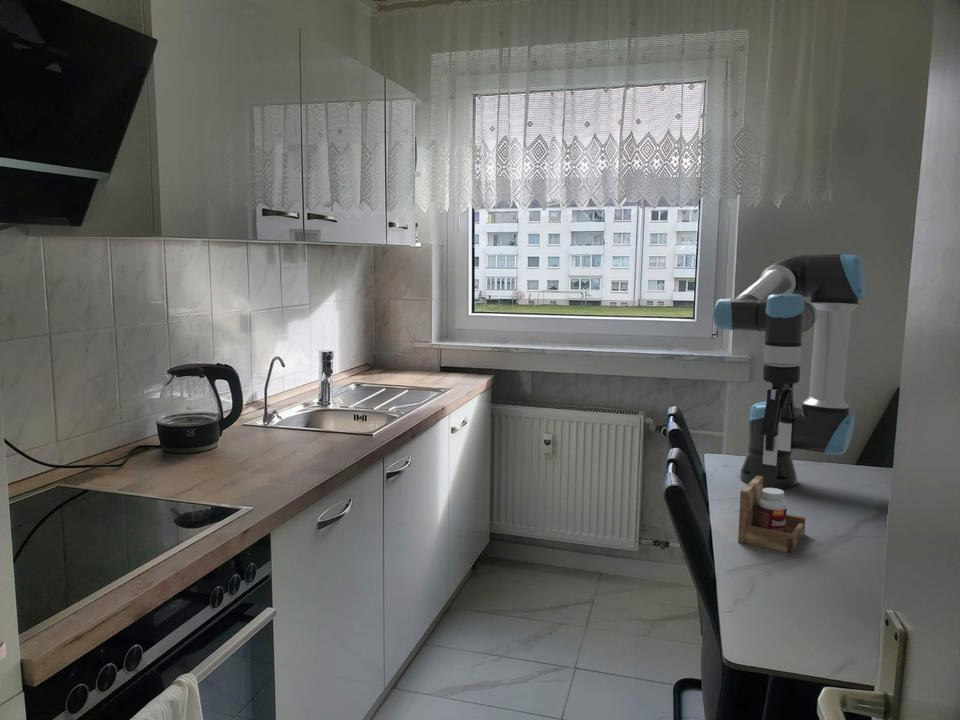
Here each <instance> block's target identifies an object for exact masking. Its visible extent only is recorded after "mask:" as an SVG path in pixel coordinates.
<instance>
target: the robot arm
mask: <svg viewBox="0 0 960 720" xmlns="http://www.w3.org/2000/svg"><path fill="white" fill-rule="evenodd" d="M866 274H867V273H866V268H865V264H864V261H863V259H862V257H860V255H855V254H844V253H842V254H840V253H839V254H798V255H794V256H790V257H786V258H784V259H781V260H778V261H776V262H774V263H773V264H771V265H769V266H768V267H766V268H765V269H764V270H763V271H762V273H761V274H760V276H759V279H757V280H756V281H755V282H754V283H753V284H751V285H750V286H749V287H747V288H746V289H745V290H744V291H743V292H741V293H740V294H739V295H737V296H736V297H735V298H730V297H729V298H720V299H718V300H717V301H716V303H715V305H714V308H713V322H714V325H715V327H716V328H717V329H720V330H727V331H741V332H742V331H743V332H763V333H764V347H763V348H762V349H761V352H762V353H764V354H763V361H764V363H765V364H764V365H763V370H762V371H763V372H762V380H763V381H765V382H767V383H770V384H772V386H771V389H769V388H768V389H767V391H766V393H767V394H766V396H767V397H766V400H765V401H760V402H756V403H754V404H753V405H752V406H751V407H750V410H749V411H750V414H749V418H748V421H749V422H748V423H749V424H748V445H747V446H748V447H747V454H746V456H745V459H744V460H743V461H744V462H743V464H742V466H741V469H740V476H739V479H740V480H741V481H742V482H744V483H746V484H748V483H749V482H750V481H752V480H753V479H754V478H755V477H756V476H762V477H763V488H776V489H788V488H792V487H795V486H796V485H797V484H798V483H797V482H798V475H797V471H796V469H795V465H794V462H793V461H794V460H793V458H792V455H793V454H792V450H797V451H805V452H811V453H817V454H818V453H819V454H824V455H826V456H827V455H831V456H832V455H833V456H834V455H835V456H841V455H844V454H845V453H846V451H847V450H848V448H849V446H850V444H851V440H852V437H853V433H854V429H855V424H856V422H855V421H856V416H855V414H854V413H852V412H850V411H849V410H850V406H849V405H848V403H847V402H846V401H845V396H844V395H845V388H846V387H845V386H846V375H847V374H846V373H847V364H848V363H847V362H848V350H849V341H850V340H849V339H850V327H851V314H852V312H853V310H855V309H856V308H857V307H858V306H859V300H862V299H865V298H866V296H867V275H866ZM804 298H810V301H807V300H805V299H804ZM813 326H814V327H813ZM811 328H814V330H813V342H812V352H811V353H812V355H811V366H810V378H809V391H808V393H809V394H808V397H807V398H806V399H804V400H803V401H802V404H801V407H796V404H795V402H794V385H795V384H798V383H799V382H800V380H801V379H800V378H801V377H800V376H801V366H799V365H800V364H801V362H802V341H803V340H802V337H803V333H806V332H808V331H809V330H811Z"/></svg>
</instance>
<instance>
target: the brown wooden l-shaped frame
mask: <svg viewBox="0 0 960 720" xmlns="http://www.w3.org/2000/svg"><path fill="white" fill-rule="evenodd" d="M762 489H764V487H763V477H762V476H756V477H755V478H754V479H753V480H752V481H750V482H749V483H746V485H745V486H744V487H743V488H742V489H740V495H739V499H740V500H739V515H738V517H739V518H738V519H739V520H738V537H737V542H738V543H740V544H747V545H752V546H756V547H761V548H765V549H766V548H767V549H769V550H770V549H771V550H775V551H780V552H784V553H789V554H793V552H794V550H795V549H796V547H797V546H798V545H799V543H800V542H801V540H802V538H803V537H804V536H805V531H806V517H805V516H804V517H803V516H799V515H795V514H788V513H786V526H785V532H781V531H776V530H771V529H766V528H761V527H756V524H757V509H758V501H759V499H760V498H762V497H763V496H762Z"/></svg>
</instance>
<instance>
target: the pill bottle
mask: <svg viewBox="0 0 960 720" xmlns="http://www.w3.org/2000/svg"><path fill="white" fill-rule="evenodd" d="M784 498H785V491H784V490H782V489H781V488H766V487H763V489H762V498H760V499H759V501H758V509H757V524H756V527H761V528H766V529H771V530H776V531H781V532H785V526H786V514H787V513H788V512H787V511H788V510H787V509H788V504H787V502H786V501H785V500H784Z"/></svg>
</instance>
